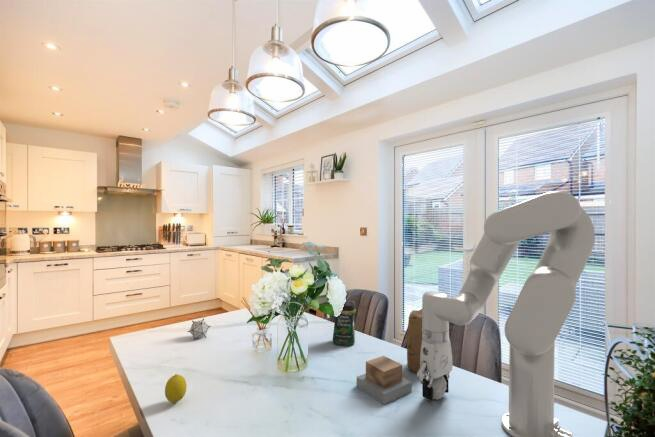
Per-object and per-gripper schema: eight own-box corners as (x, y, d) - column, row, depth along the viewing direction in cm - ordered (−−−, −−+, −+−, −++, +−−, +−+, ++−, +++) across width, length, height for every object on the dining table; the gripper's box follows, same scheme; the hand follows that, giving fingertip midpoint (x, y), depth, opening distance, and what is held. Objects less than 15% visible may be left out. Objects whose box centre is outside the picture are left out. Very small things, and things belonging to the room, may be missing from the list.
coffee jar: (331, 345, 131) (331, 301, 131) (334, 338, 139) (335, 297, 139) (353, 347, 129) (354, 303, 129) (356, 340, 136) (356, 298, 137)
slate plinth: (411, 391, 96) (411, 382, 96) (384, 404, 88) (384, 394, 89) (383, 375, 105) (383, 367, 105) (356, 386, 98) (356, 376, 98)
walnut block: (402, 381, 96) (402, 364, 96) (384, 388, 91) (384, 371, 91) (383, 370, 102) (383, 355, 103) (365, 377, 98) (365, 361, 98)
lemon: (180, 395, 92) (181, 368, 92) (189, 402, 88) (190, 374, 88) (161, 403, 87) (161, 374, 88) (169, 411, 84) (170, 381, 84)
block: (428, 376, 105) (428, 317, 105) (405, 372, 108) (406, 314, 108) (431, 363, 115) (431, 309, 115) (410, 359, 118) (411, 307, 118)
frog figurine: (451, 398, 92) (451, 374, 92) (438, 406, 88) (438, 381, 88) (432, 389, 97) (432, 367, 97) (419, 397, 92) (419, 374, 92)
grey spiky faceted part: (194, 347, 136) (179, 330, 134) (206, 334, 143) (192, 317, 142) (206, 340, 132) (191, 323, 131) (218, 327, 140) (204, 310, 138)
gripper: (427, 344, 84) (428, 411, 84) (463, 332, 95) (463, 391, 94) (406, 336, 91) (406, 398, 90) (441, 325, 101) (441, 381, 100)
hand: (435, 394), depth 92 cm, fingers closed on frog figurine, 6 cm apart
